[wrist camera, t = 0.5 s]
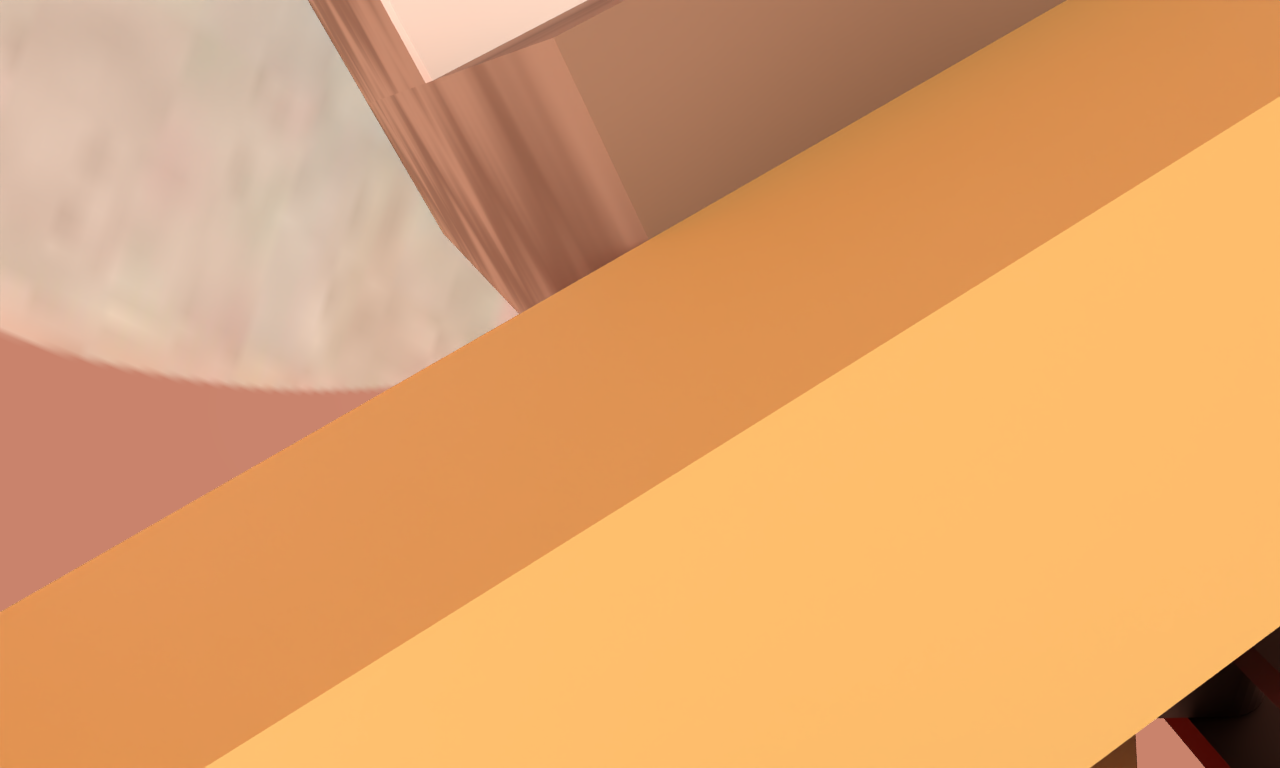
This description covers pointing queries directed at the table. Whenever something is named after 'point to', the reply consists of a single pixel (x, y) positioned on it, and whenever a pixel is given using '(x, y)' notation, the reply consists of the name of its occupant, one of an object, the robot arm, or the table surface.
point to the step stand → (625, 106)
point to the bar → (772, 468)
